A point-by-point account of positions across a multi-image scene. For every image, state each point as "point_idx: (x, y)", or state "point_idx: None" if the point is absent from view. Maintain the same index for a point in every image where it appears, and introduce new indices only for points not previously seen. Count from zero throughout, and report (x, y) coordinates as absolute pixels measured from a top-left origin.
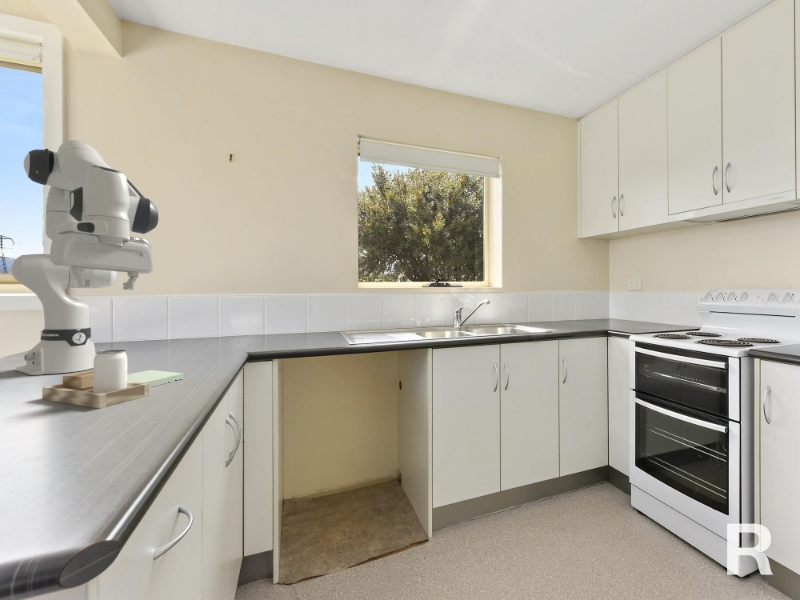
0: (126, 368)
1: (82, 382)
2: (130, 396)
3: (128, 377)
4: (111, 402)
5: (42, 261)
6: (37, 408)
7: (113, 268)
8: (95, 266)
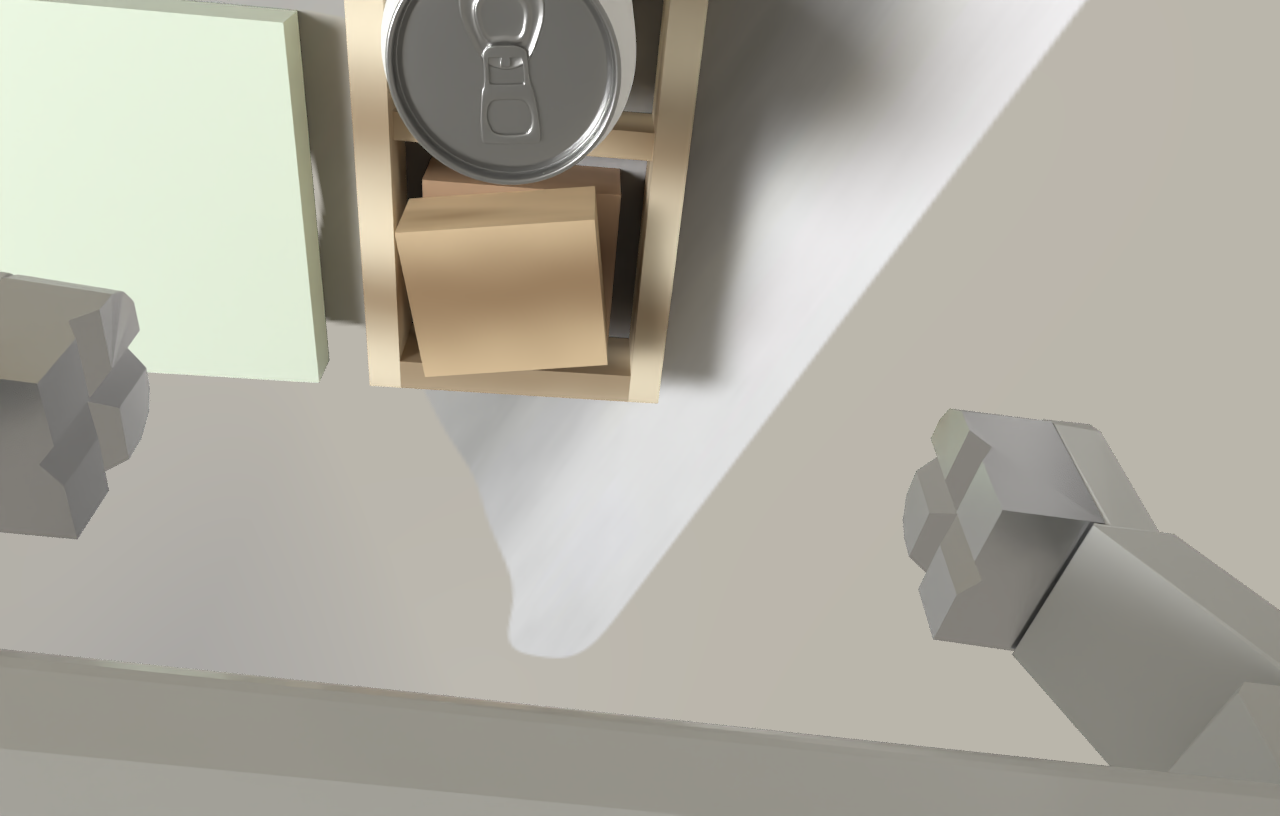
0: None
1: (588, 203)
2: None
3: (195, 280)
4: None
5: None
6: (793, 206)
7: (430, 696)
8: (1105, 769)
